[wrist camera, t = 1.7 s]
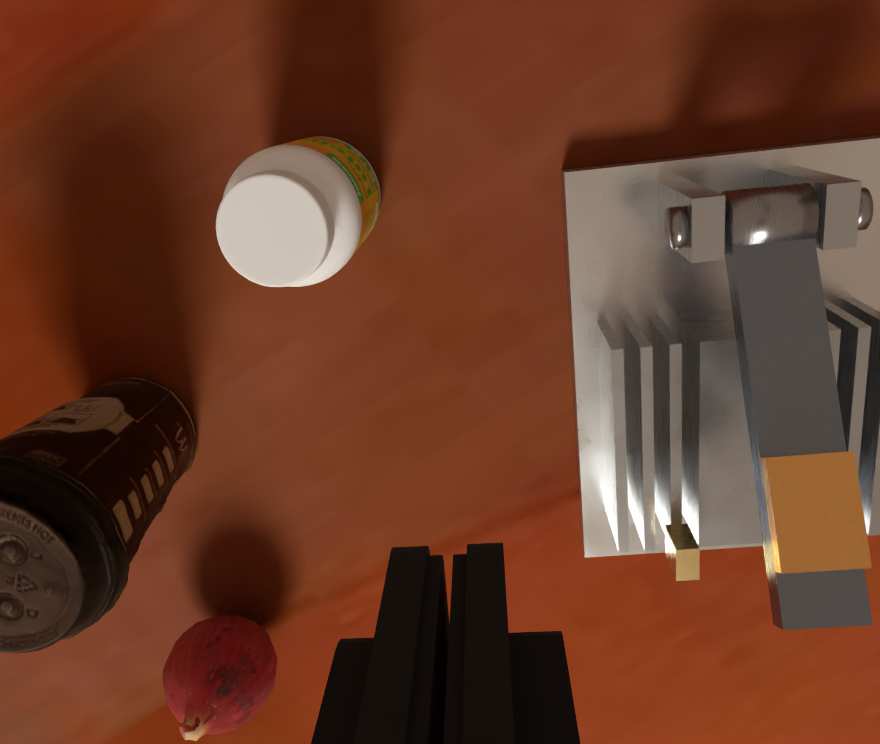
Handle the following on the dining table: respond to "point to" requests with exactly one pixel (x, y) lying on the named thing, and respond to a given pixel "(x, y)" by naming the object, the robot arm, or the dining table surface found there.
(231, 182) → the supplement bottle
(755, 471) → the strap
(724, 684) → the dining table surface
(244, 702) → the onion
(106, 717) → the dining table surface
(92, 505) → the coffee cup
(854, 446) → the heatsink base
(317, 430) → the dining table surface
